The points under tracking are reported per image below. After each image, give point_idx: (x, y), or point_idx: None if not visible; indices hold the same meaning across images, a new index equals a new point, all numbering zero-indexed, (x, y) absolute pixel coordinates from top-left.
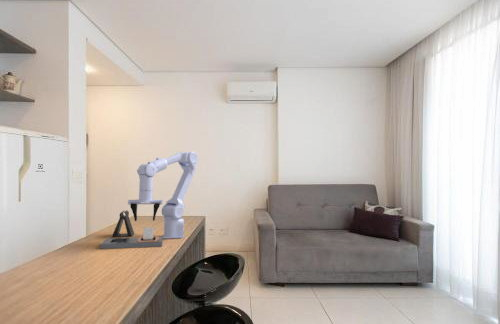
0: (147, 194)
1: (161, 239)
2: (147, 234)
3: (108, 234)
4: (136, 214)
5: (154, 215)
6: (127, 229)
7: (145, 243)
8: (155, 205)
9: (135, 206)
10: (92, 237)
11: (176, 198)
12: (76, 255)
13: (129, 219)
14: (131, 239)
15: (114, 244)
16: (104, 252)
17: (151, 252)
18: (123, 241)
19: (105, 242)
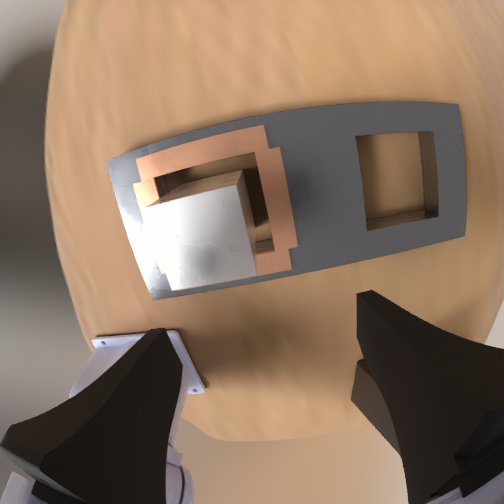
0: None
1: (129, 221)
2: (204, 186)
3: None
4: (385, 372)
5: (122, 362)
6: None
7: (209, 127)
8: (19, 455)
9: (496, 405)
10: (485, 319)
11: None
12: (468, 30)
13: (391, 443)
14: (335, 210)
15: (399, 102)
16: (399, 37)
17: (146, 32)
18: (380, 222)
19: (451, 137)
